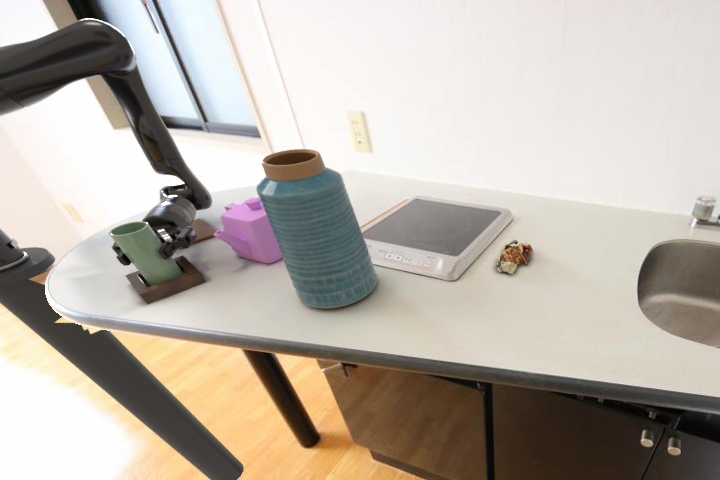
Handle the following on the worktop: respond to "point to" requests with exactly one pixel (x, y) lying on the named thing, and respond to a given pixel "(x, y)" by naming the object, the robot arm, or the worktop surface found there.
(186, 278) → the rectangular frame
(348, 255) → the vase
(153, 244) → the cup
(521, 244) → the pastry
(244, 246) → the teakettle
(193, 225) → the mat
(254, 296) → the worktop surface
